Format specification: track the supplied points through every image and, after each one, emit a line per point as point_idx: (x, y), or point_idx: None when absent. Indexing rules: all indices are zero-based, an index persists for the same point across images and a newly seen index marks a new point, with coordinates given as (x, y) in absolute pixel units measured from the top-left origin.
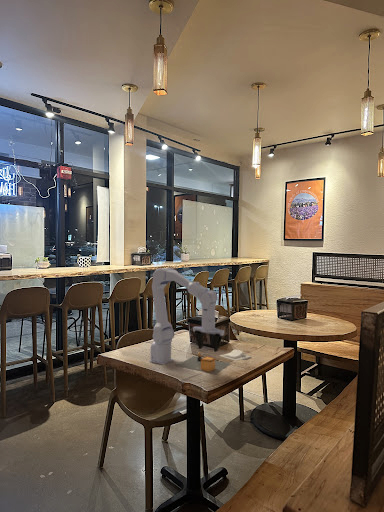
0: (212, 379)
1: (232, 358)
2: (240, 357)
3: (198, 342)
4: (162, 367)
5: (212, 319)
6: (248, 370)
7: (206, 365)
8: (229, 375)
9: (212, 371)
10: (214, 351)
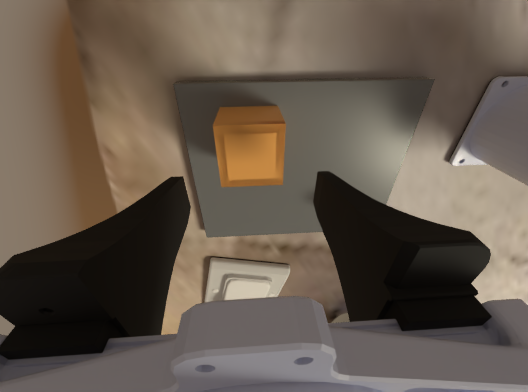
0: (158, 32)
1: (233, 273)
2: (221, 290)
3: (349, 194)
4: (505, 35)
5: None
6: None
7: (241, 115)
8: (138, 142)
9: (210, 116)
10: (179, 177)
